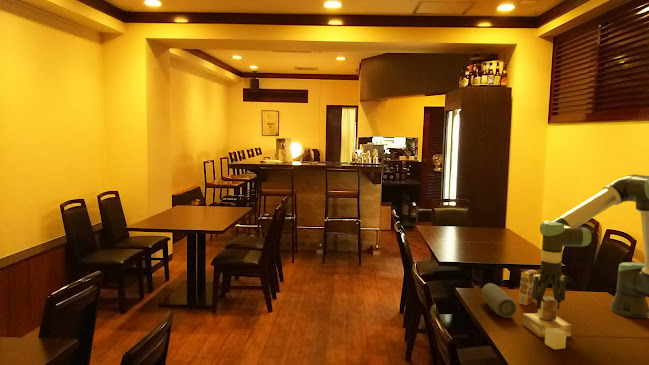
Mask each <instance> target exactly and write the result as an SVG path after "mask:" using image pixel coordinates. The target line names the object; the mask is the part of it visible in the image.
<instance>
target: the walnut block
mask: <svg viewBox="0 0 649 365" xmlns="http://www.w3.org/2000/svg"><path fill="white" fill-rule="evenodd" d="M542 301H543V302H544V305H543V318H542V319H544V320H556V314H558V309H557V300H556V299H554V296H552V295H551V296H550V295H549V296H547V295H546V296H545V295H544V296H543V299H542Z"/></svg>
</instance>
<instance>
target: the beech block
mask: <svg viewBox="0 0 649 365" xmlns="http://www.w3.org/2000/svg"><path fill="white" fill-rule="evenodd" d="M522 314H523V315H522V325H523V326H524V327H525V328H527V329H528V330H530V332H532V333H534V334H535V335H537V336H538V337H539V338H545V332H546V329H548V328H558V329H560V330H562V331H564V332H566V338H567V337H571V334H572V324H571V323H568V322H567V321H565V320H564V319H562V318H560V317H559V316H557V317H556V320H544V319H542V318H540V317H539V316H538V312H535V313H522Z"/></svg>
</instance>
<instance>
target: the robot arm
mask: <svg viewBox="0 0 649 365" xmlns="http://www.w3.org/2000/svg"><path fill="white" fill-rule="evenodd" d="M625 202H635V209H636V211H638V212H639V213H640V218H641V219H640V220H641V222H640V223H641V233H642V241H643V242H642V243H643V252H644V263H643V262H621V263H619V265H618V270H617V280H616V292H615V296H614V298H613V299H612V302H611V303H610V311H612V312H613V313H615V314H617V315H620V316H624V317H627V318H628V317H629V318H633V319H634V318H635V319H646V318H647V319H648V318H649V304H648V300H647V298H649V175H641V174H627V175H625V176H622V177H619V178H617V179H615V180H613V181H611V182H609V183H608V184H606V185H604V186H603V187H602V189H601V191H599V192H598V193H596V194H595V195H593V196H591V197H589V198H588V199H586V200H585V201H583V202H581V203H579V204H578V205H576V206H575V207H573V208H571V209H570V210H568V211H567V212H565V213H564V214H562V215H561V216H559V217H557V218H555V219H554V220H544V221H543V222H542V223H541V224H540V226H539V232H540V234H541V235H542V240H541V242H542V243H541V256H540V258H541V260H540V266H539V268H540V272H539V274H538V273H537V275H533V276H532V277H533V280H534V281H533V292H532V298H533V299H534V301H536V305H535V307H536V309H537V313H538V316H539V317H540V318H543V305H544V302H543V301H542V299H543V296H545V294H546V293H545V292H546V290H547V287H548V286H549V285H551V287H552V294H553V298H554V299H556V300H557V310H559V309H560V303H562V302H563V301H565V300H566V287H567V286H566V285H567V281H568V277H567V276H565V275H563V274H561V273H562V272H561V271H562V263H561V262H562V261H563V260H562V259H563V248H564V247H586V246H588V245H590V243H591V242H592V233H591V231H590V230H589V229H588V228H587V227H582V225H584V224H585V223H586V222H588V221H589V220H591V219H593V218H594V217H596V216H598V215H599V214H601V213H603V212H605V211H606V210H608V209H609V208H610V207H612V206H614V205H615V206H619V205H620V204H622V203H625ZM540 280H541V281H540ZM558 281H559V282H558ZM558 283H559V284H558ZM557 314H558V313H557ZM557 314H556V317H557Z"/></svg>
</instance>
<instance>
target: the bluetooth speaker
mask: <svg viewBox="0 0 649 365" xmlns="http://www.w3.org/2000/svg"><path fill="white" fill-rule="evenodd" d="M480 292H481V295H482V297H483V299H484V301H485V302H486V303H487V305H488V306H489V307H490V308H491V310H492V311H493V312H494V313H495V314H496V315H497V316H500V317H503V318H508V319H509V318H512V317H513V316H515V315H516V312H517V309H518V308H517V305H516V302H515V301H514V300H513V298H511V296H510V295H509V294H508V293H507V292H505V290H503V289H502V288H501V287H500V286H498V285H496V284H495V283H492V282H490V283H486V284H484V285H483V287H482V288H481V290H480Z"/></svg>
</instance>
